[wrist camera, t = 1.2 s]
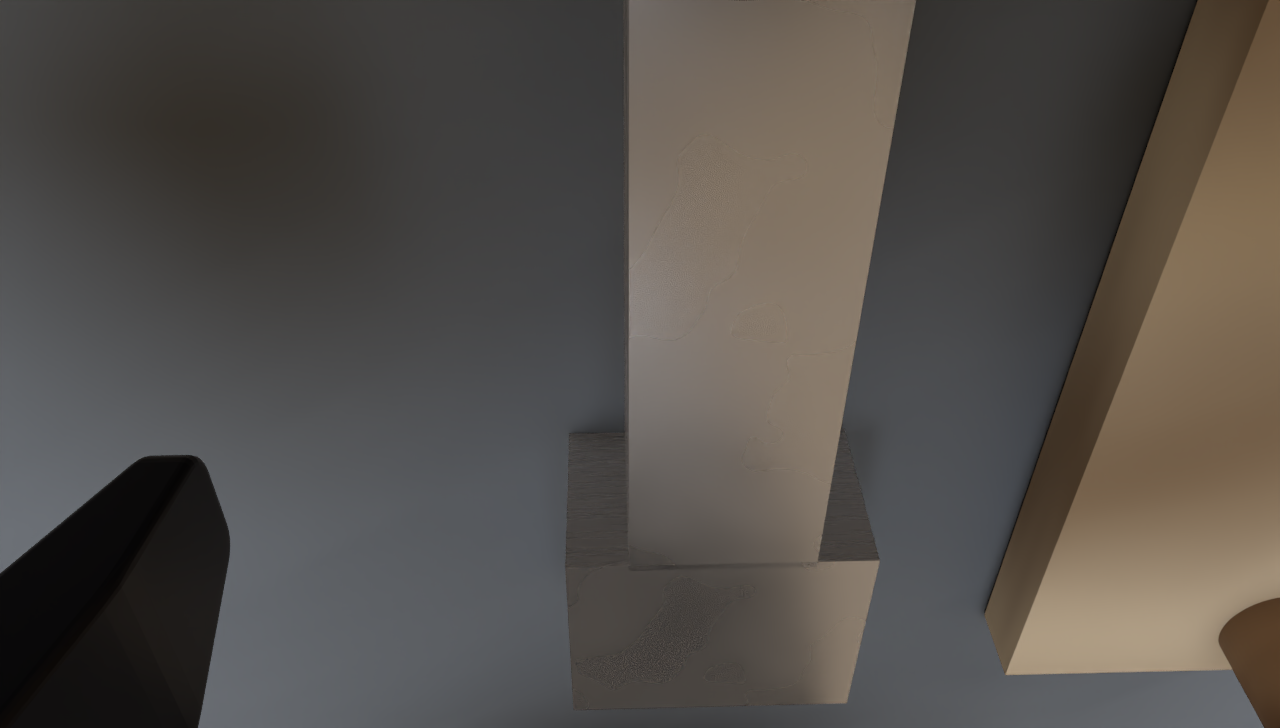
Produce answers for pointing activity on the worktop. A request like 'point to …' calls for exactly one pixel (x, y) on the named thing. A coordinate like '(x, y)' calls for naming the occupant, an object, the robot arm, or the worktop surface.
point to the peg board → (1171, 403)
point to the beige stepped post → (736, 359)
